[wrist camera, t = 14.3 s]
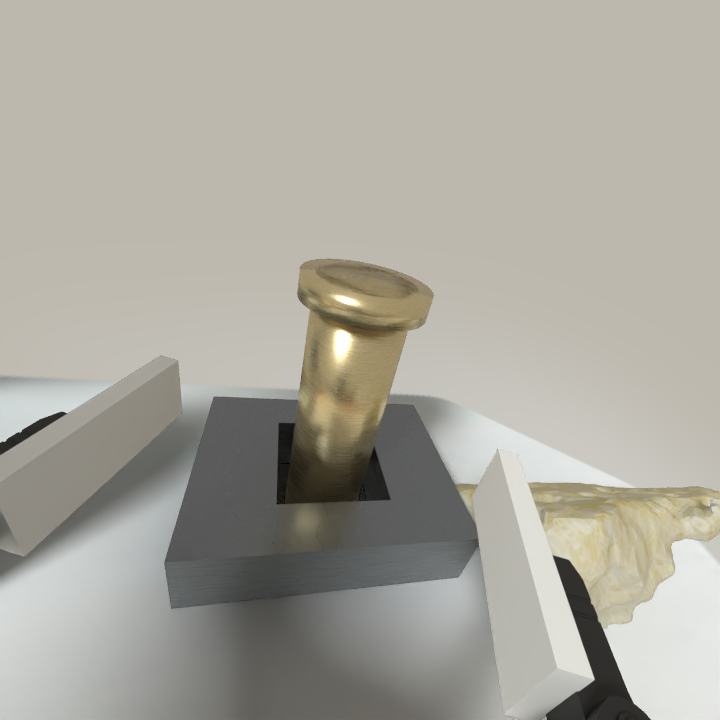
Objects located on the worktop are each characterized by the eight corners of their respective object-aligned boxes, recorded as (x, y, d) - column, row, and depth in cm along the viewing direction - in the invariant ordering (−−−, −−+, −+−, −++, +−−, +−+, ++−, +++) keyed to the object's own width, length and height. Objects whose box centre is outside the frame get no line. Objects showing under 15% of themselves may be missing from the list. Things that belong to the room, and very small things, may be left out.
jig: (171, 608, 16) (164, 563, 14) (214, 436, 26) (213, 396, 25) (458, 577, 21) (482, 538, 19) (401, 439, 31) (413, 405, 29)
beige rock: (406, 629, 19) (838, 818, 9) (396, 495, 21) (754, 532, 11) (507, 554, 30) (758, 604, 20) (495, 469, 32) (722, 476, 22)
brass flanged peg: (254, 515, 21) (271, 271, 14) (303, 452, 27) (335, 253, 19) (344, 561, 20) (418, 318, 12) (376, 485, 26) (442, 284, 18)
